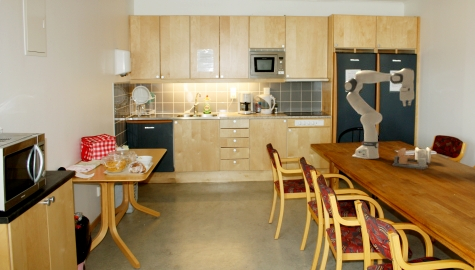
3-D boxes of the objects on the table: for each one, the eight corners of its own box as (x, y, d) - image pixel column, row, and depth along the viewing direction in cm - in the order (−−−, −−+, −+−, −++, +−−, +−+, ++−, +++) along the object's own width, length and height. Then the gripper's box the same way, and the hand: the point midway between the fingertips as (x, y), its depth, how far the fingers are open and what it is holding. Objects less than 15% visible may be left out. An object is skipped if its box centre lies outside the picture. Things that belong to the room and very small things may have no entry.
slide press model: (392, 165, 353) (392, 156, 352) (397, 163, 360) (398, 154, 359) (423, 169, 337) (423, 160, 336) (428, 167, 344) (428, 158, 343)
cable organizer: (430, 164, 354) (431, 150, 352) (416, 164, 357) (417, 149, 355) (427, 160, 368) (428, 146, 367) (414, 160, 371) (414, 146, 370)
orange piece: (397, 163, 349) (397, 150, 347) (403, 161, 358) (404, 147, 356) (405, 164, 345) (405, 150, 343) (411, 162, 354) (411, 148, 352)
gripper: (408, 87, 366) (408, 104, 368) (398, 88, 352) (397, 106, 354) (416, 88, 362) (415, 105, 364) (406, 89, 347) (405, 106, 349)
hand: (406, 105), depth 359 cm, fingers open, 8 cm apart
